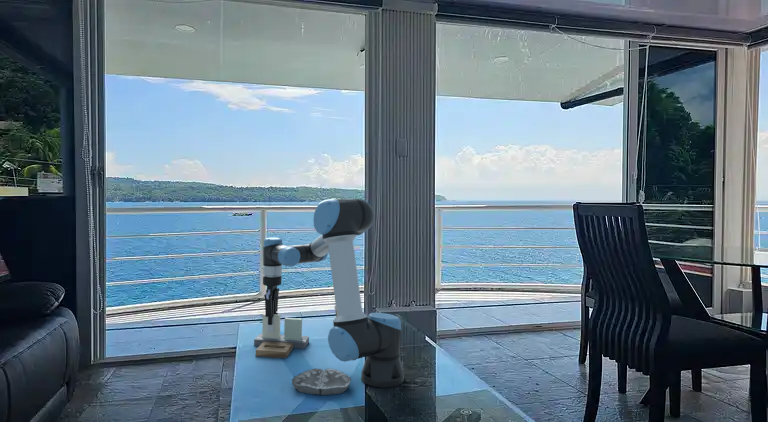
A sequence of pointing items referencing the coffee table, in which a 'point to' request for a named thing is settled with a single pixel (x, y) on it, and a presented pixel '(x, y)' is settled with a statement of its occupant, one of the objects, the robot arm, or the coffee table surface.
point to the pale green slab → (276, 327)
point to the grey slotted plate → (283, 341)
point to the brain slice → (321, 382)
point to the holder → (274, 349)
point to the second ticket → (293, 328)
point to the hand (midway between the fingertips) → (271, 331)
